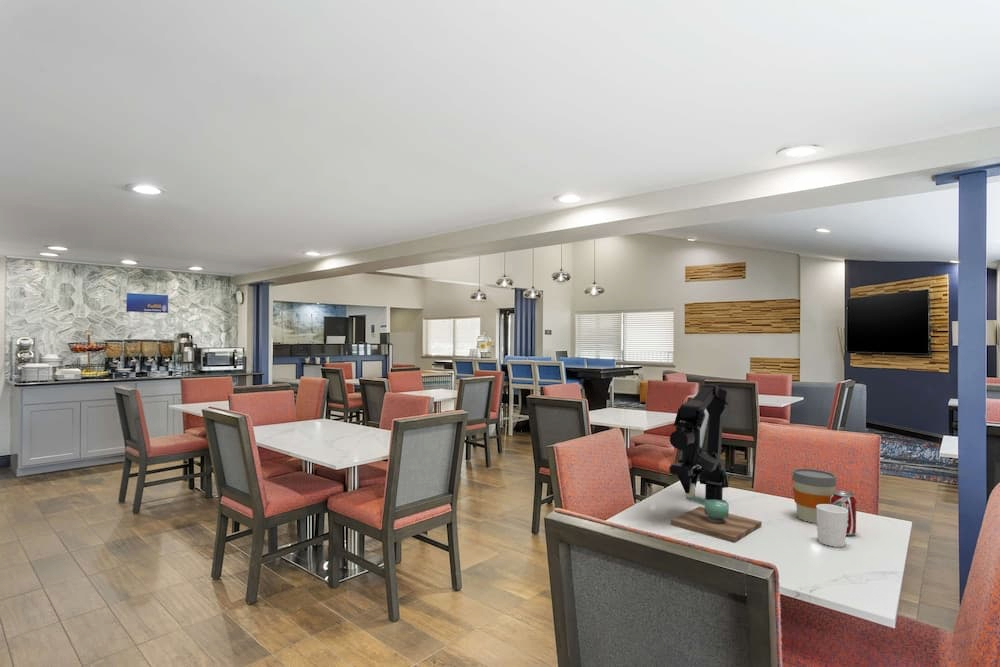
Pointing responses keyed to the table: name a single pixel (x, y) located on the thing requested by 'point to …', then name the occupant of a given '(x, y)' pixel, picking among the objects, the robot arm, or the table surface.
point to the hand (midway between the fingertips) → (689, 491)
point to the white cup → (831, 524)
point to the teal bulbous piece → (710, 504)
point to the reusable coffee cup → (812, 491)
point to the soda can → (848, 503)
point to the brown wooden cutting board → (717, 524)
